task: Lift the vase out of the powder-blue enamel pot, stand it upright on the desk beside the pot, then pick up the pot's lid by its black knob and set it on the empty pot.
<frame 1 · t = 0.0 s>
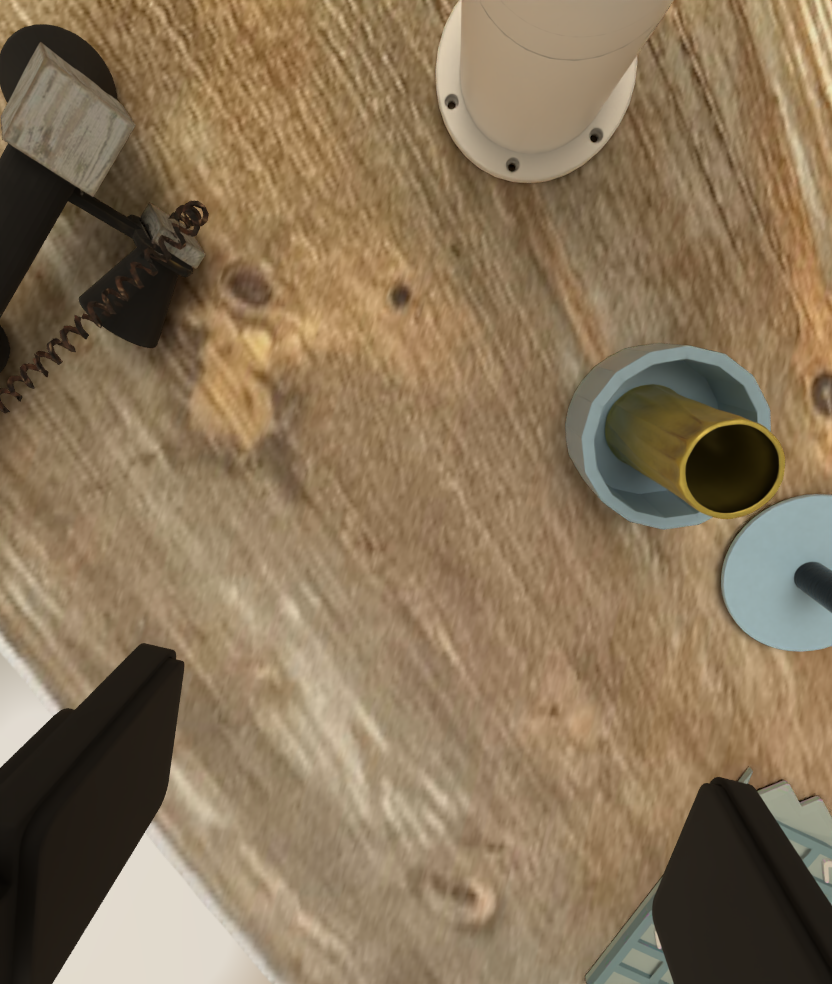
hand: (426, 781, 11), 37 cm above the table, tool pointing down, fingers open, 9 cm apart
lid: (806, 573, 47), point 1 cm above the table
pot: (645, 425, 45), on the table
vase: (646, 426, 45), resting on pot
calendar: (796, 937, 57), on the table
telephone: (60, 296, 45), on the table
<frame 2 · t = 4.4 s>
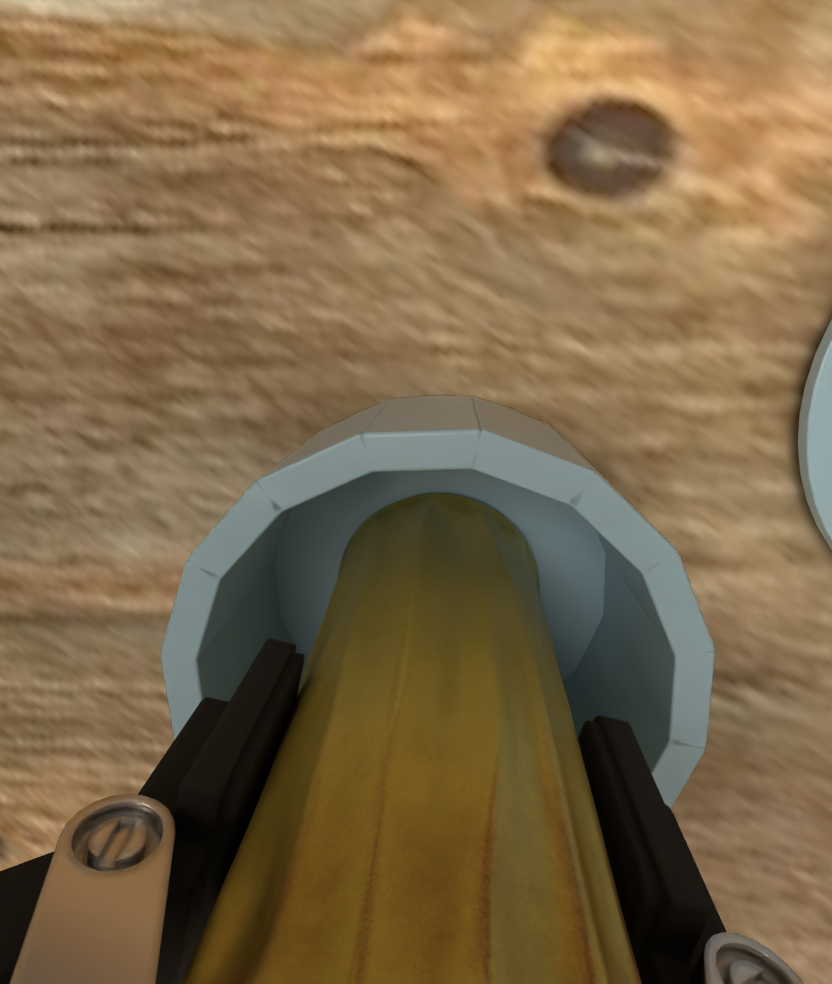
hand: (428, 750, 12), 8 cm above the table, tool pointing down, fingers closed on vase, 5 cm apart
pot: (438, 581, 19), on the table
vase: (437, 584, 19), resting on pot, touching gripper
when the fingers open (8 cm above the table, at t = 11.2 s): vase stays where it is, on the table.
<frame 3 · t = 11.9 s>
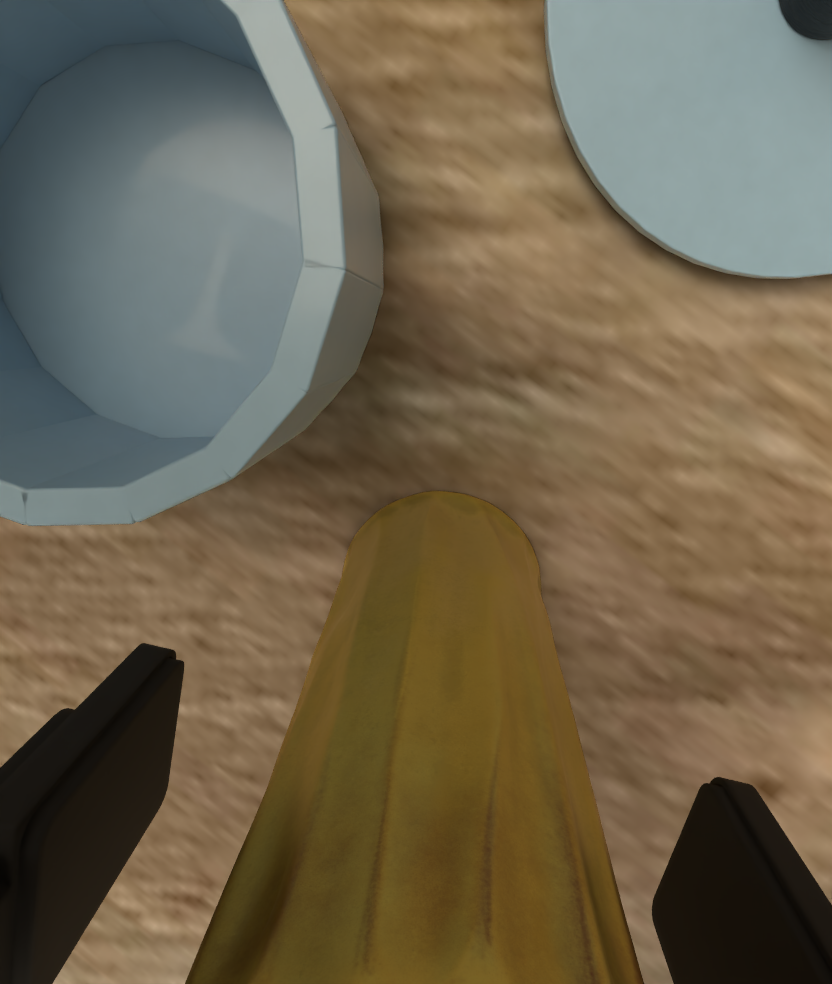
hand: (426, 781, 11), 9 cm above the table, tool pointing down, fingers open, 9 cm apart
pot: (177, 257, 17), on the table
vase: (440, 580, 19), on the table
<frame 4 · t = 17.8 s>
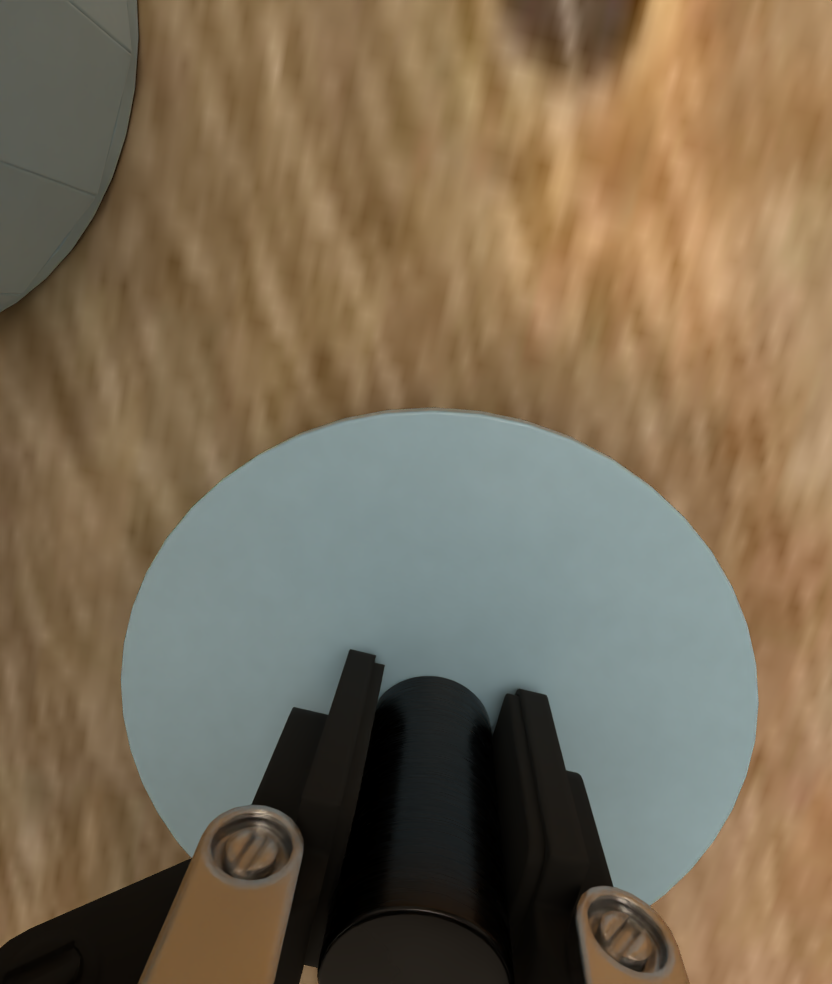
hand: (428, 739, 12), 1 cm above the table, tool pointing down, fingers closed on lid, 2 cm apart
lid: (430, 712, 13), point 1 cm above the table, touching gripper
when the fingers open (7 cm above the table, at t = 23.7 s): lid stays where it is, resting on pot.
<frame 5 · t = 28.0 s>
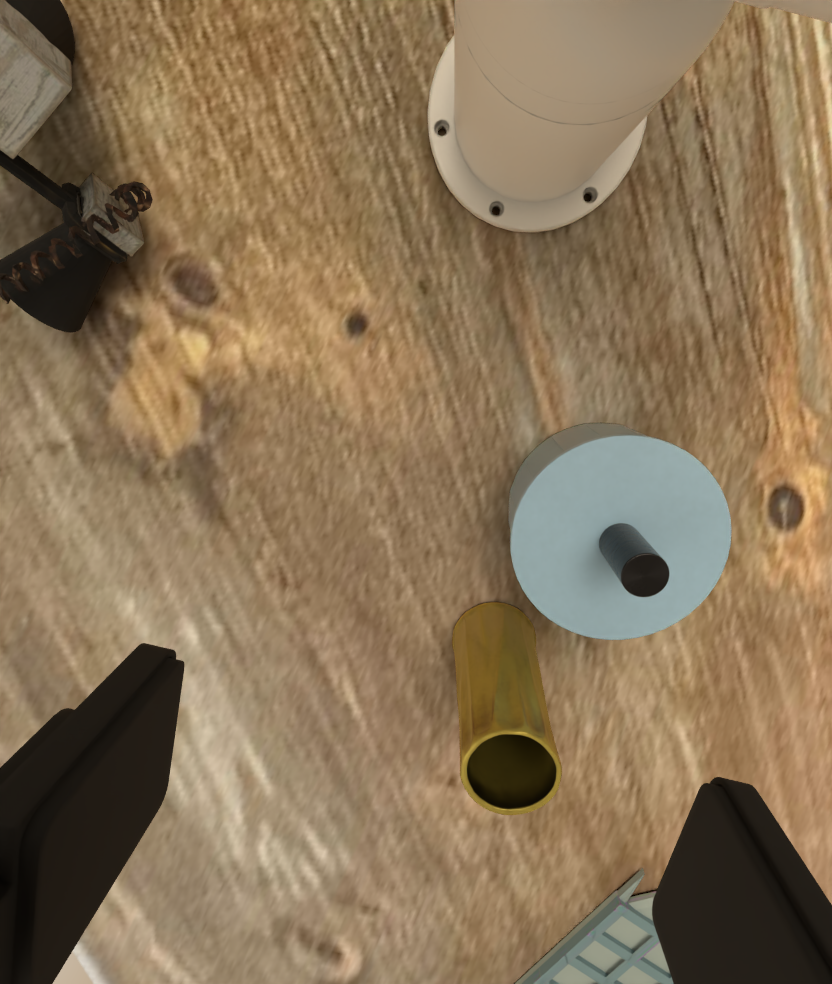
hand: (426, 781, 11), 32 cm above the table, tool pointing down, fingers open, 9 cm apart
lid: (617, 539, 36), point 6 cm above the table, touching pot
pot: (593, 506, 42), on the table
vase: (493, 637, 46), on the table
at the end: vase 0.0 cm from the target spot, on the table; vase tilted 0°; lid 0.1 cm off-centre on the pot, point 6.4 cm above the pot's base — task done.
